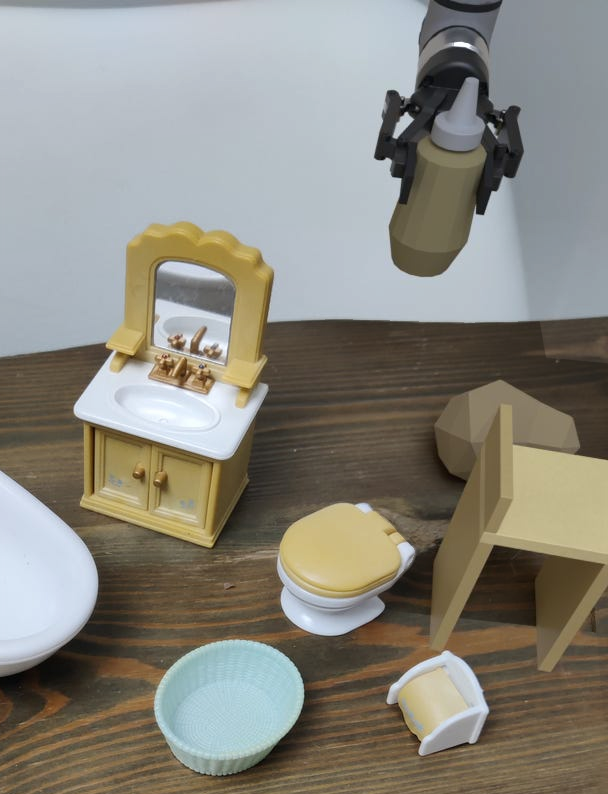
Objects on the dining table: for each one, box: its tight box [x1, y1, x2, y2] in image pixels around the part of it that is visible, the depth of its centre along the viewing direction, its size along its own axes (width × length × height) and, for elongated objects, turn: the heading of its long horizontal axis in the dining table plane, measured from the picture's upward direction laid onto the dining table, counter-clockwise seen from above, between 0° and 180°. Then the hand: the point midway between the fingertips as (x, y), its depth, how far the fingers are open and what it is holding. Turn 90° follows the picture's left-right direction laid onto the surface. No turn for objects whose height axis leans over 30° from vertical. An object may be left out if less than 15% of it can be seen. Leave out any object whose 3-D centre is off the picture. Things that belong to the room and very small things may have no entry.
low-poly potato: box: [433, 379, 581, 482], centre depth 101 cm, size 15×11×12 cm
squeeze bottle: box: [388, 77, 487, 278], centre depth 94 cm, size 8×8×18 cm
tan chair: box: [428, 404, 608, 673], centre depth 85 cm, size 11×11×20 cm
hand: (445, 195), depth 91 cm, fingers closed on squeeze bottle, 6 cm apart
